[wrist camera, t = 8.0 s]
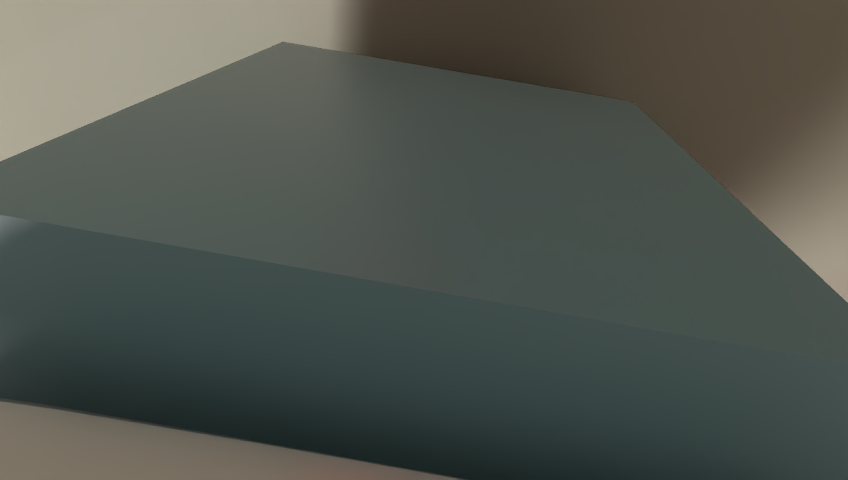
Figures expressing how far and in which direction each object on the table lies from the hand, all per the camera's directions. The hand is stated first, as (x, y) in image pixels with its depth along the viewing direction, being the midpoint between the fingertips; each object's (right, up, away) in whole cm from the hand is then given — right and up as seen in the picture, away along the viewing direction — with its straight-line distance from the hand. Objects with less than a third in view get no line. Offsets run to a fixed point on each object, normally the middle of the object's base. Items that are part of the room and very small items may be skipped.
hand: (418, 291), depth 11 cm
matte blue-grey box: (0, +1, +3) cm, 3 cm away
